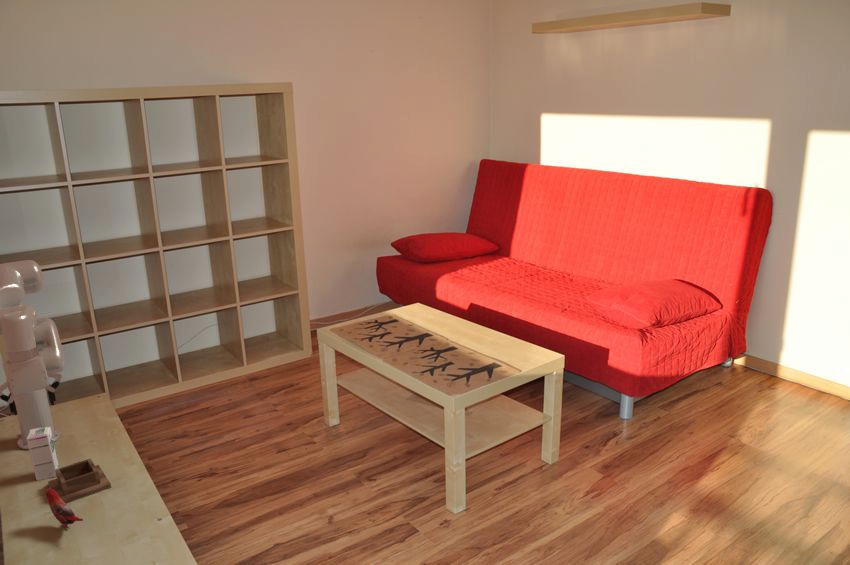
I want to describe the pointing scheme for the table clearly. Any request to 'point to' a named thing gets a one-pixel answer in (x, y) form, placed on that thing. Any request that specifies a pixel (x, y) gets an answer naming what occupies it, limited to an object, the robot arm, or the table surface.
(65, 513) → the decorative bird figurine
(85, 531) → the table surface
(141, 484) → the table surface
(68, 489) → the stand
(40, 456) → the syrup box
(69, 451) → the table surface
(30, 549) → the table surface
